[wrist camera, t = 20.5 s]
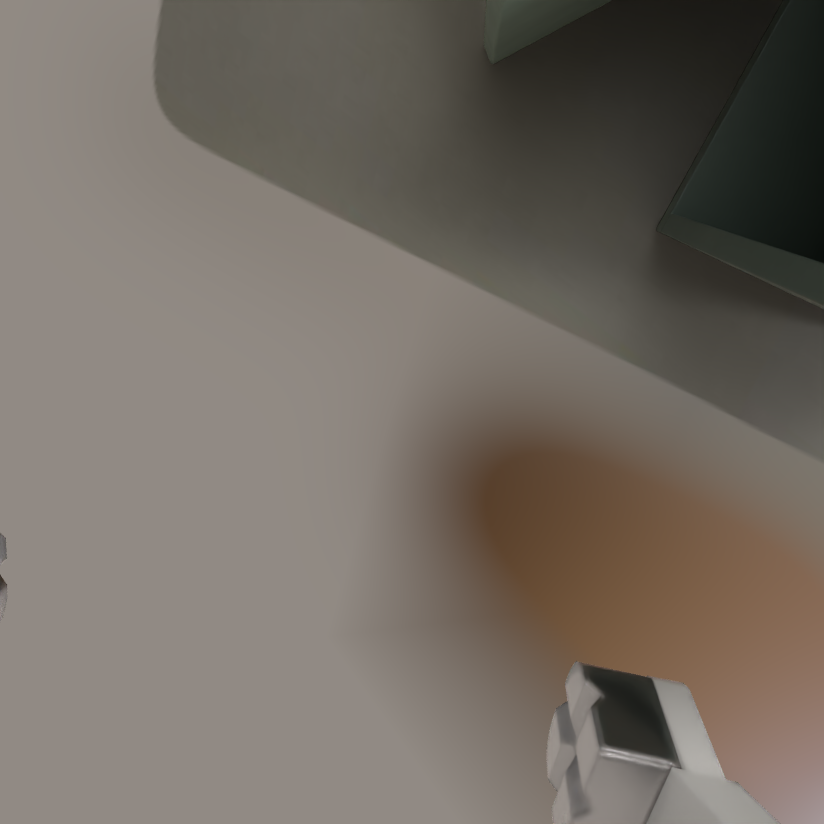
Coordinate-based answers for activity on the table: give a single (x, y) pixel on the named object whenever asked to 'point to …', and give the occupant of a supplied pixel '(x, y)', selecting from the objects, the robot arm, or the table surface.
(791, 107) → the green cabinet
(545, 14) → the cabinet door
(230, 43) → the table surface
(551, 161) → the table surface
